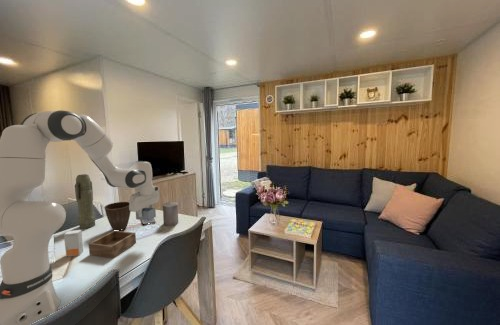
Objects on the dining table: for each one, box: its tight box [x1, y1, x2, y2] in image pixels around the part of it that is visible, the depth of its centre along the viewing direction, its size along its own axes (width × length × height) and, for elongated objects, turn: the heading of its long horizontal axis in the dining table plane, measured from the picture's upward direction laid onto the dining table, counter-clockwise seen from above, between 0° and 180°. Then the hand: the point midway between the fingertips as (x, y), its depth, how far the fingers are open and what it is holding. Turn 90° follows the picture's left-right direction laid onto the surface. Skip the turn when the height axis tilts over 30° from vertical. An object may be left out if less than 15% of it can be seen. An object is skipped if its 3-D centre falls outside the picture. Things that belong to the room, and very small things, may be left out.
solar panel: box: [141, 217, 156, 225], centre depth 160 cm, size 8×23×2 cm, turn 30°
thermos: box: [74, 173, 96, 230], centre depth 145 cm, size 9×12×35 cm
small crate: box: [135, 206, 157, 221], centre depth 122 cm, size 6×8×5 cm
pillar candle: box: [162, 201, 179, 227], centre depth 151 cm, size 10×10×15 cm
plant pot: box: [103, 201, 131, 231], centre depth 142 cm, size 15×15×16 cm
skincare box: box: [63, 229, 84, 257], centre depth 112 cm, size 6×4×12 cm
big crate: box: [88, 230, 137, 259], centre depth 117 cm, size 16×14×6 cm
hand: (145, 214), depth 122 cm, fingers closed on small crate, 6 cm apart
